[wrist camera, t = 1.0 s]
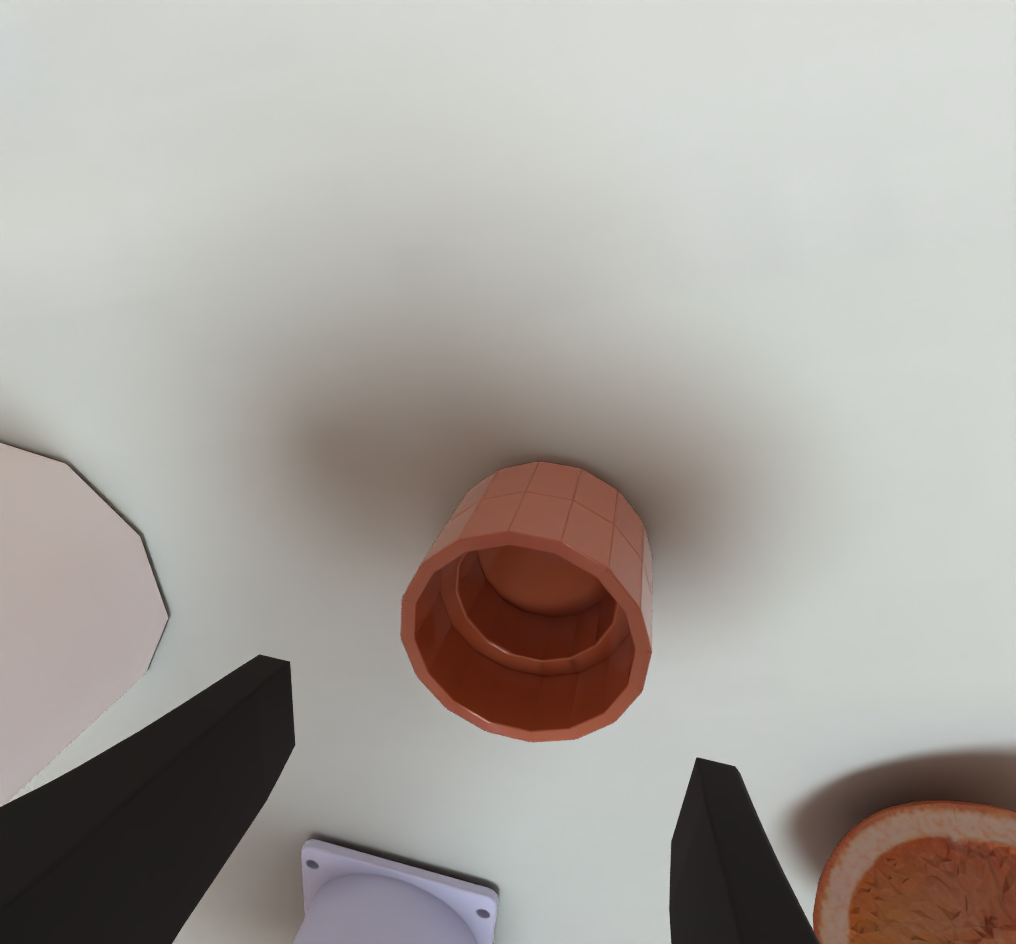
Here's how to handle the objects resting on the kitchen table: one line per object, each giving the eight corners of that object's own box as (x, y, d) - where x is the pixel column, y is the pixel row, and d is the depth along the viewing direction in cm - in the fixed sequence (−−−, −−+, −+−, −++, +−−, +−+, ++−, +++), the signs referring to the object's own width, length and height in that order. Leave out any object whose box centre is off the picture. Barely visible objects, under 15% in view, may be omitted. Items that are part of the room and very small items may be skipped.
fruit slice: (1063, 721, 17) (1213, 911, 12) (1145, 890, 18) (1304, 1114, 14) (759, 799, 20) (789, 973, 15) (850, 938, 21) (901, 1133, 17)
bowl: (631, 646, 19) (625, 766, 15) (449, 607, 20) (397, 710, 16) (669, 474, 16) (673, 561, 12) (461, 439, 17) (403, 511, 13)
